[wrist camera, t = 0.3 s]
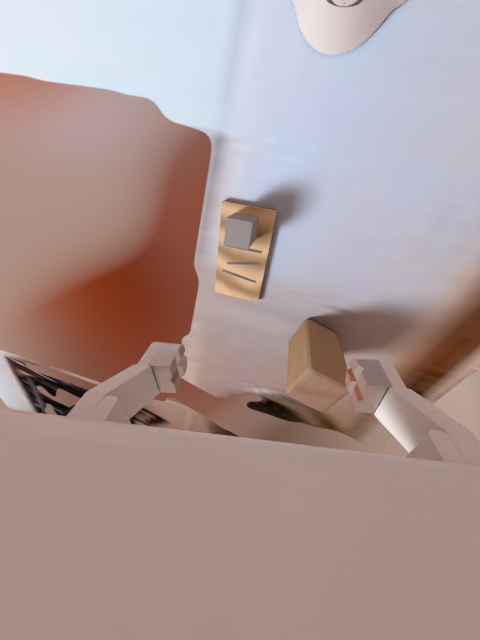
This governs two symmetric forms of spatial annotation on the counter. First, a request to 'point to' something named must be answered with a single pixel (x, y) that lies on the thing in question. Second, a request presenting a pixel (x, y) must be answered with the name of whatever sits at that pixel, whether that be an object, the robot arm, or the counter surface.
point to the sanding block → (241, 230)
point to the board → (244, 255)
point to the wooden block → (316, 367)
